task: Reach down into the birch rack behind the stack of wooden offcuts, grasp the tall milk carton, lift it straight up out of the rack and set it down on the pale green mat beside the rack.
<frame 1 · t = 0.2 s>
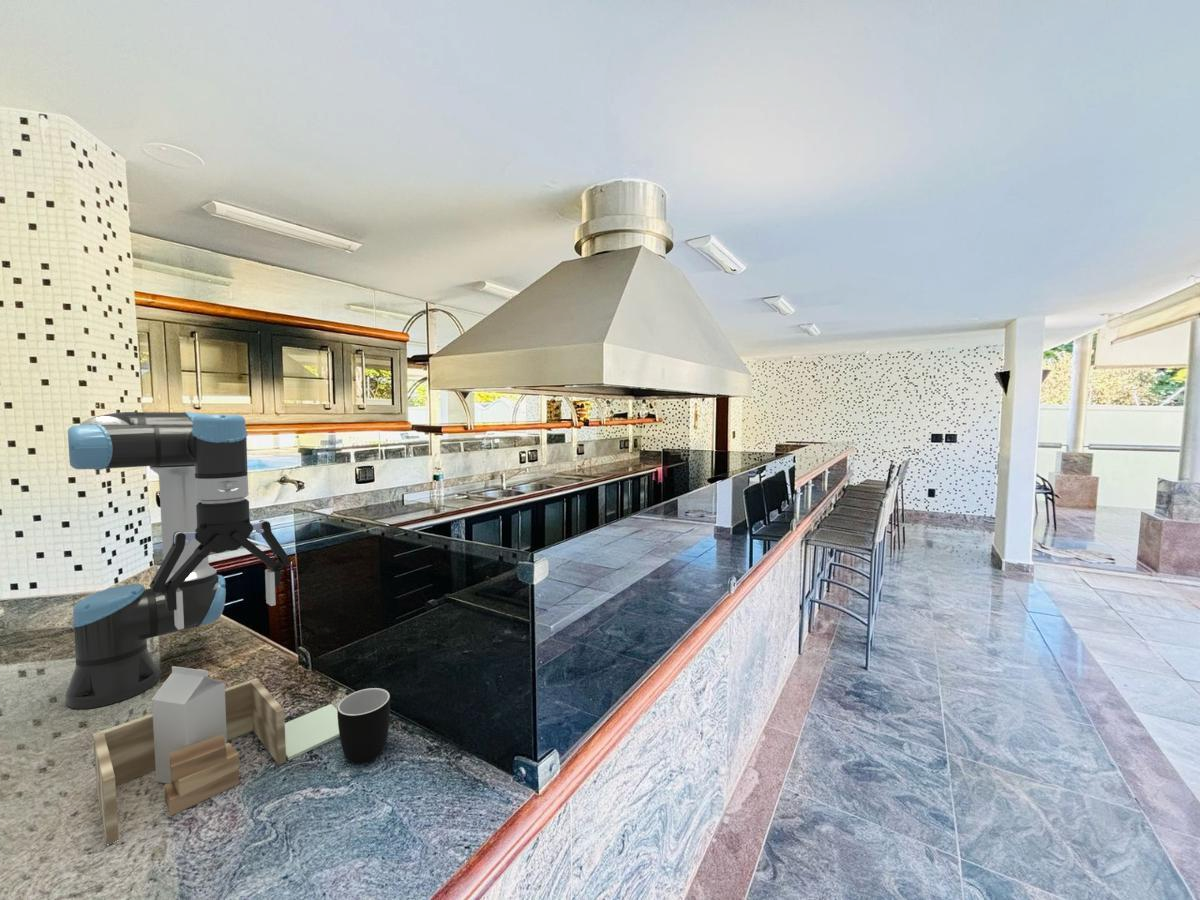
hand: (227, 615, 88), 27 cm above the countertop, fingers open, 13 cm apart
milk carton: (193, 772, 87), on the countertop
mug: (360, 750, 92), on the countertop
offcut stack: (203, 791, 82), on the countertop
rack: (195, 774, 86), on the countertop
mat: (311, 731, 98), on the countertop
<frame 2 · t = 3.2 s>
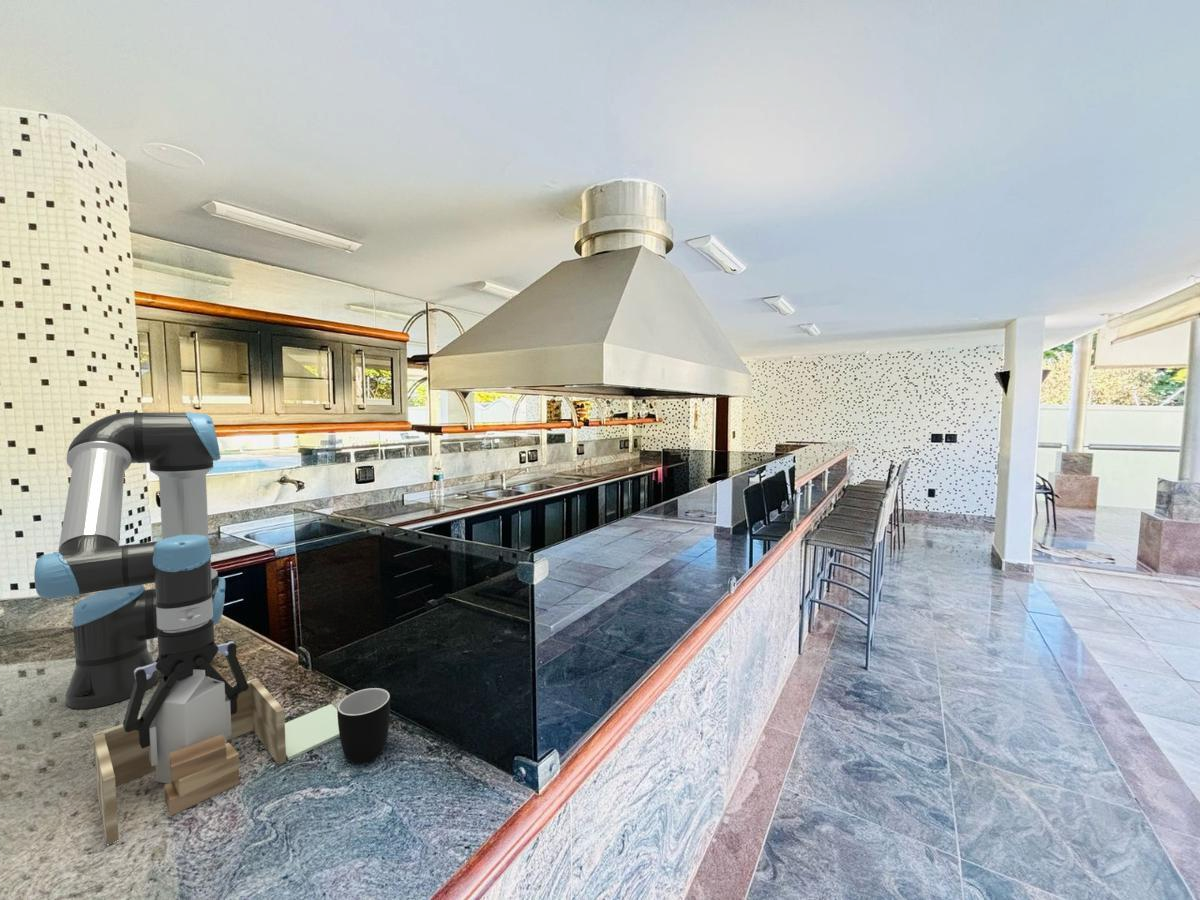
hand: (191, 746, 86), 5 cm above the countertop, fingers closed on milk carton, 9 cm apart
milk carton: (193, 772, 87), on the countertop, touching gripper
everything else where it was.
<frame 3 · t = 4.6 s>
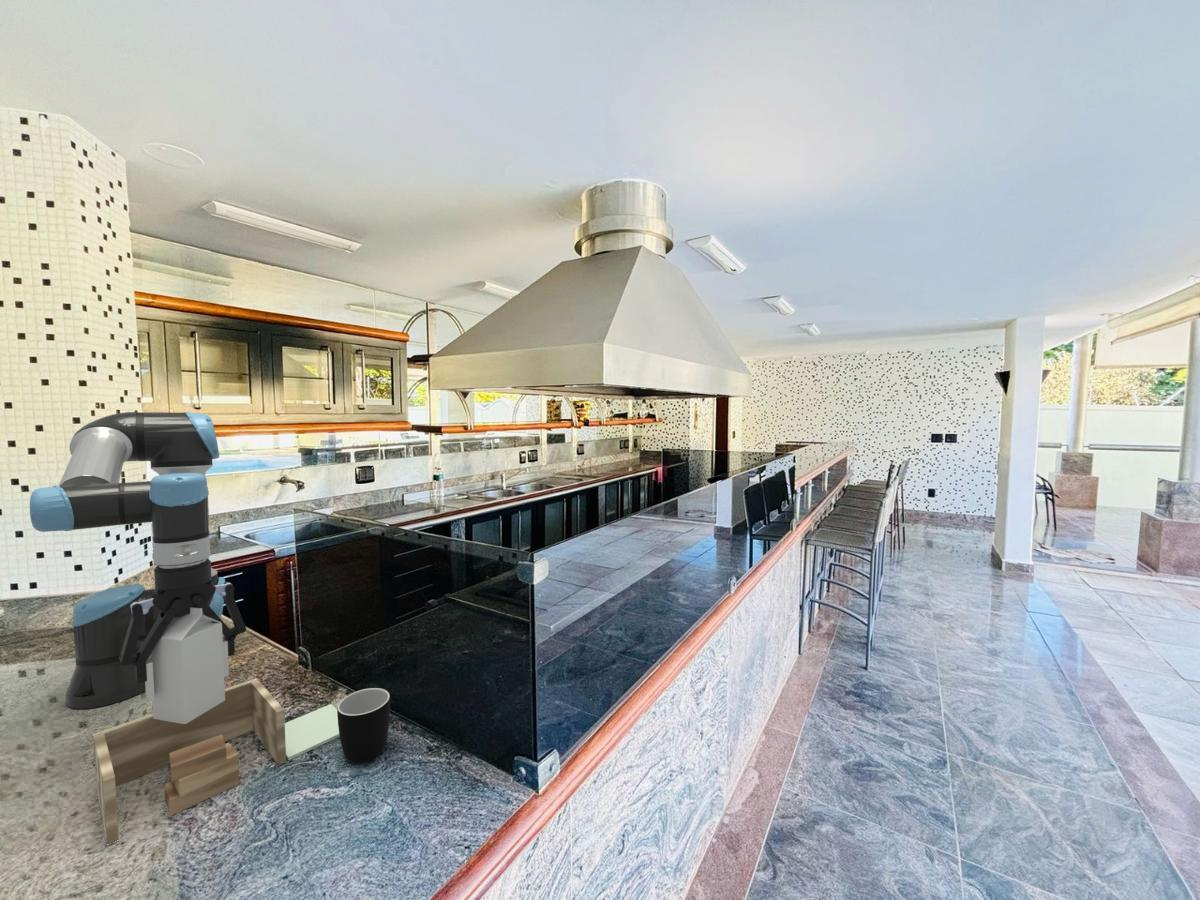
hand: (189, 685, 86), 16 cm above the countertop, fingers closed on milk carton, 9 cm apart
milk carton: (190, 711, 86), point 11 cm above the countertop, touching gripper
everything else where it was.
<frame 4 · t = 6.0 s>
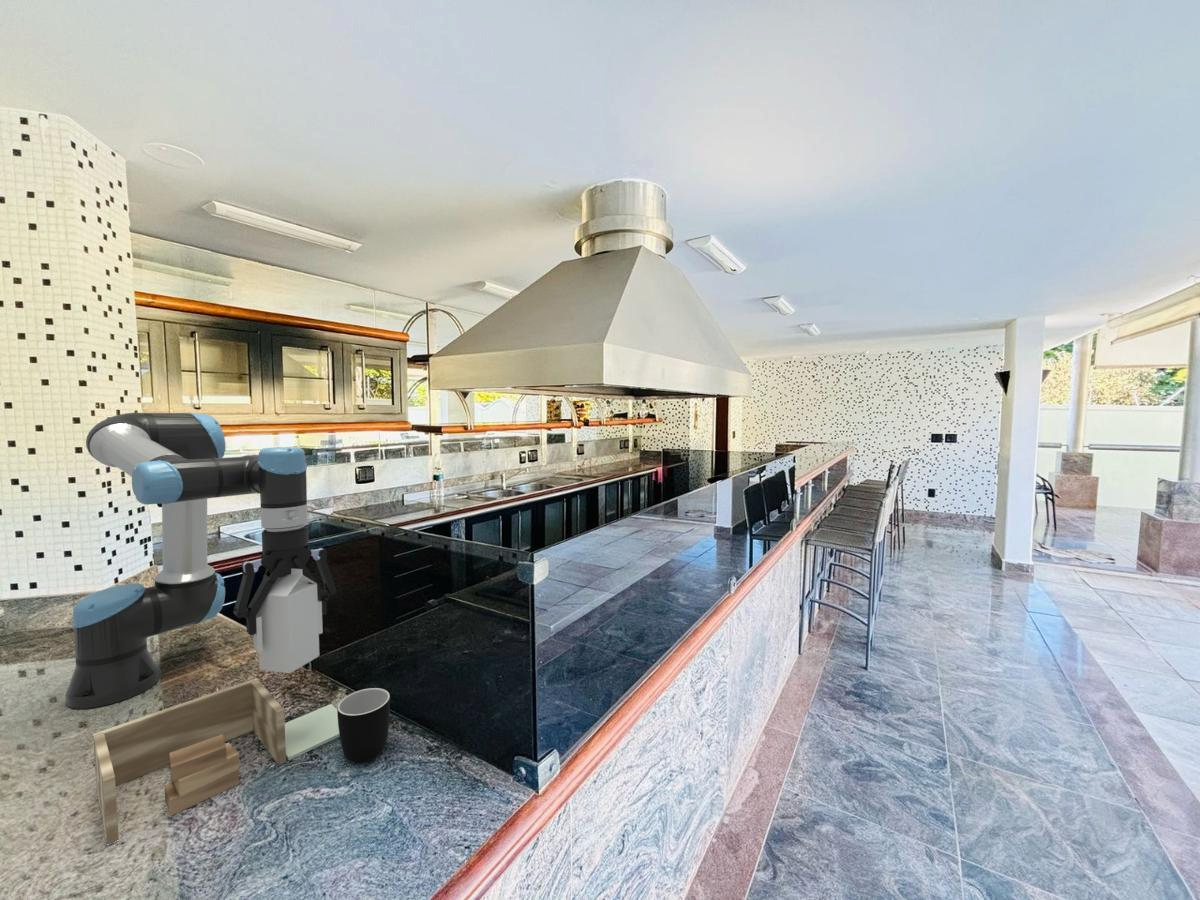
hand: (289, 640, 94), 20 cm above the countertop, fingers closed on milk carton, 9 cm apart
milk carton: (290, 664, 94), point 15 cm above the countertop, touching gripper
everything else where it was.
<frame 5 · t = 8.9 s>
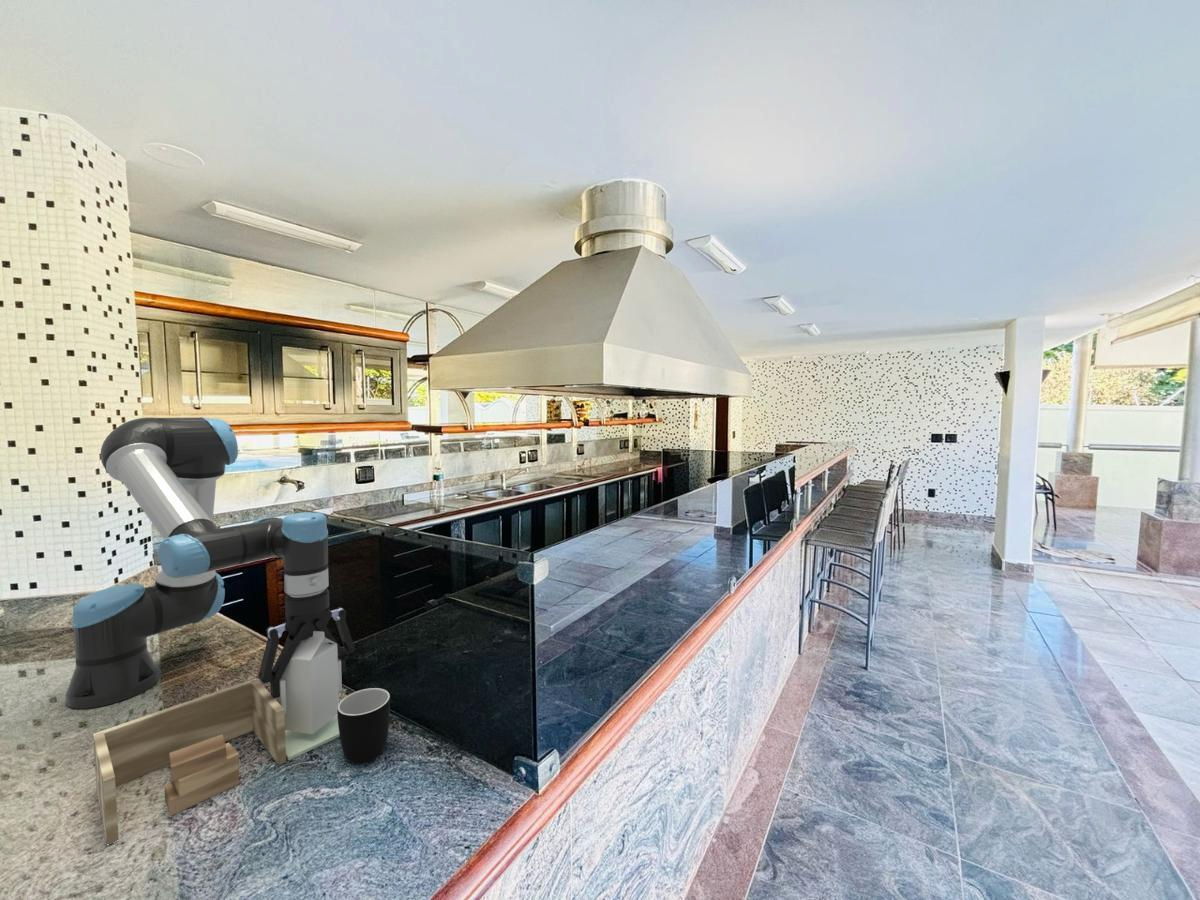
hand: (310, 699, 97), 7 cm above the countertop, fingers closed on milk carton, 9 cm apart
milk carton: (311, 722, 98), point 2 cm above the countertop, touching gripper
everything else where it was.
when the fingers open (7 cm above the countertop, at t = 9.3 s): milk carton drops 1 cm, resting on mat.
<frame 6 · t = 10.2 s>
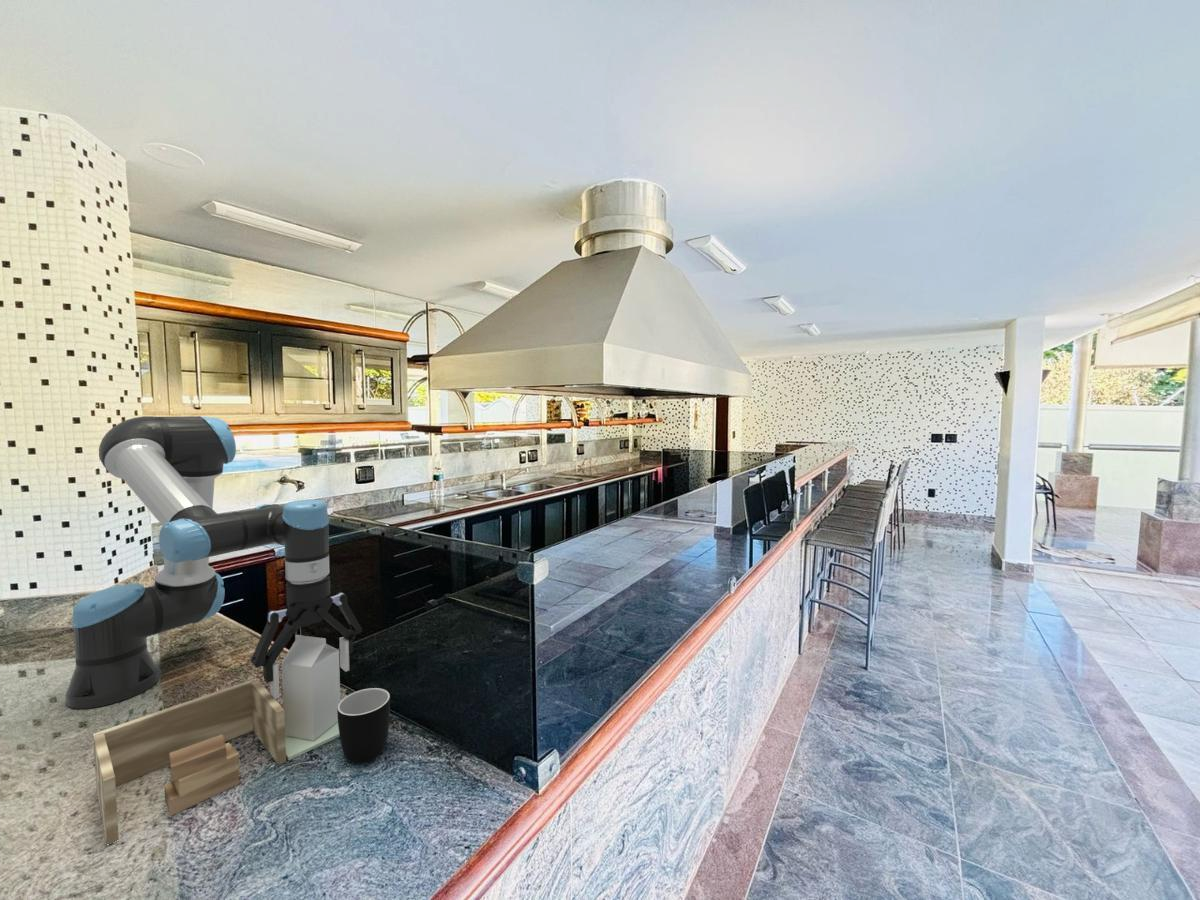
hand: (311, 681, 98), 10 cm above the countertop, fingers open, 12 cm apart
milk carton: (313, 728, 98), resting on mat
everything else where it was.
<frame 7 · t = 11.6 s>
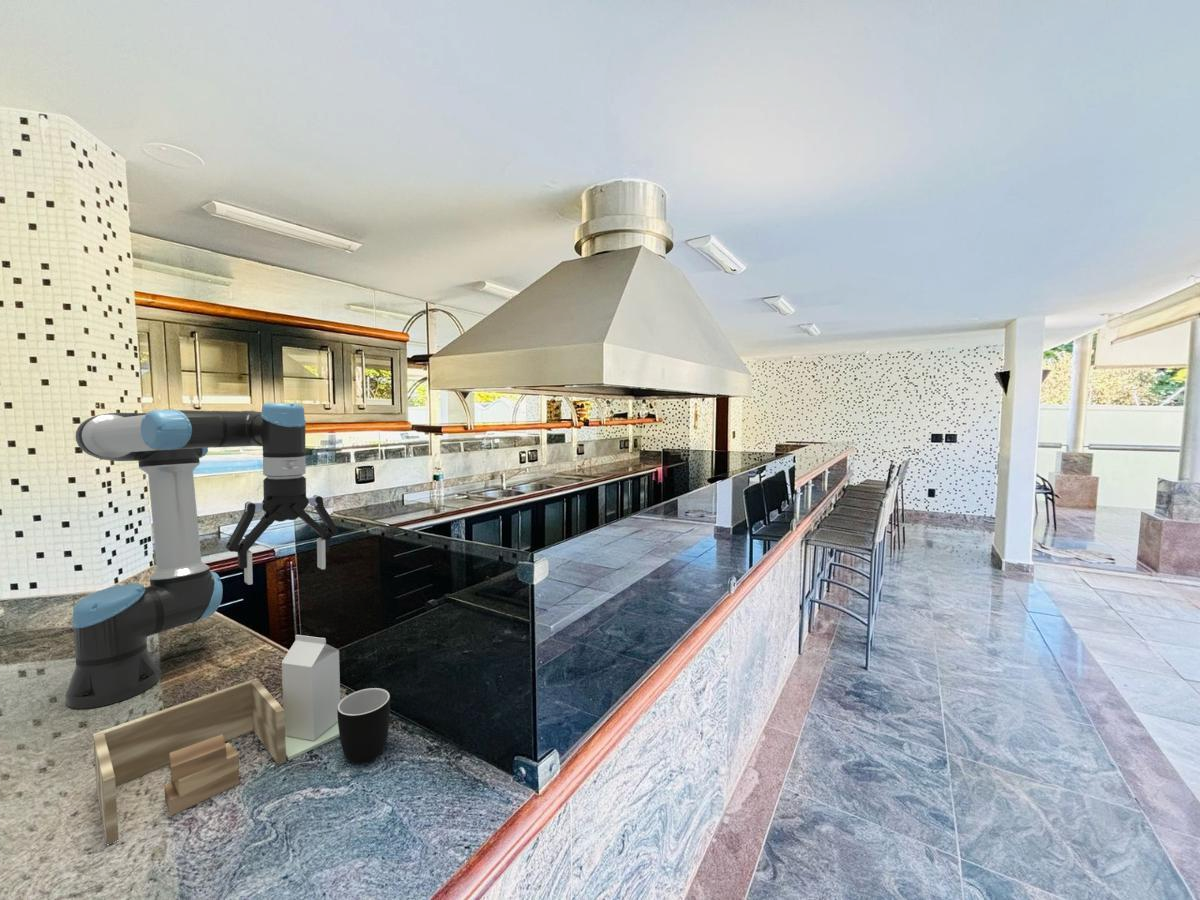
hand: (286, 575, 103), 30 cm above the countertop, fingers open, 13 cm apart
nothing on the countertop moved.
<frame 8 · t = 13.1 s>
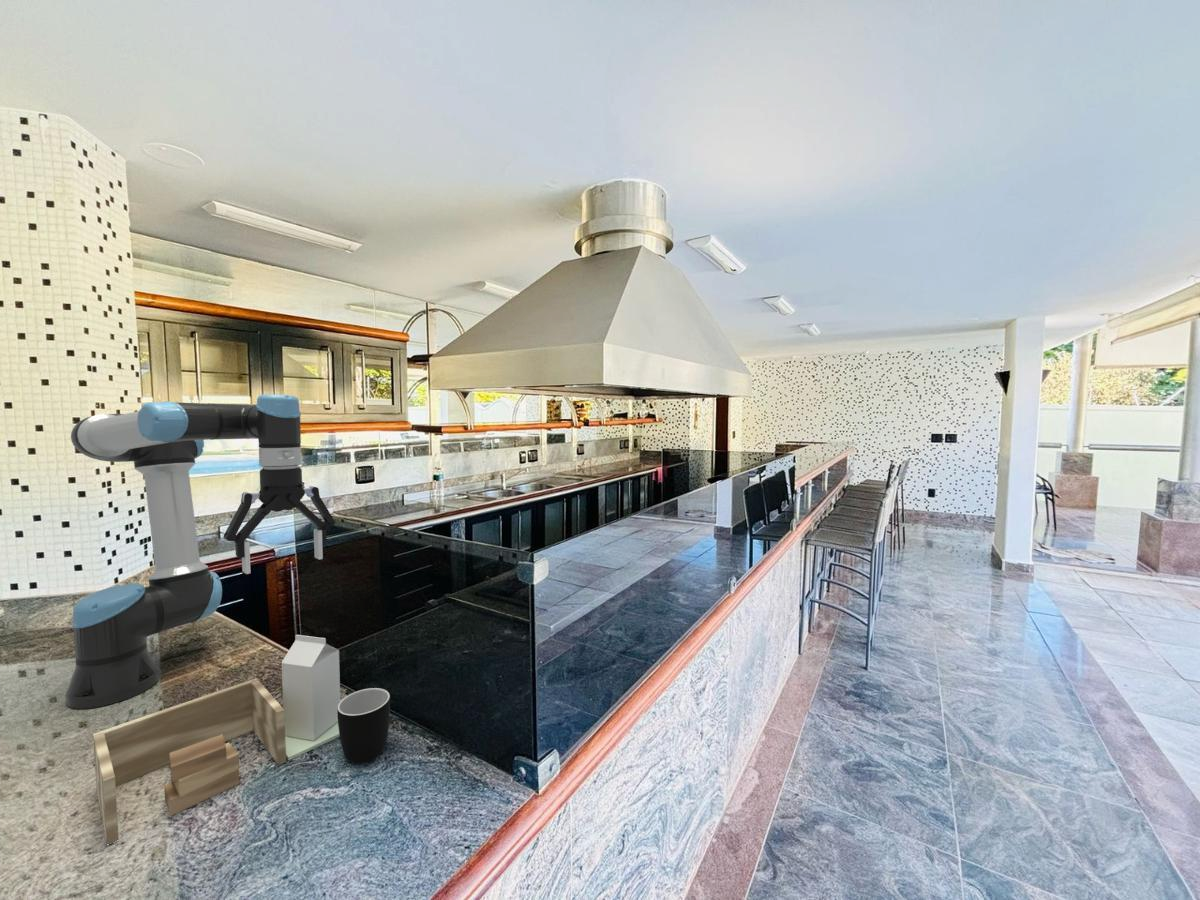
hand: (284, 565, 104), 32 cm above the countertop, fingers open, 13 cm apart
nothing on the countertop moved.
at the end: milk carton inside the target area on the mat (0.3 cm from its centre), point 0.4 cm above the mat's base; milk carton tilted 0°; the gripper is holding nothing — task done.
